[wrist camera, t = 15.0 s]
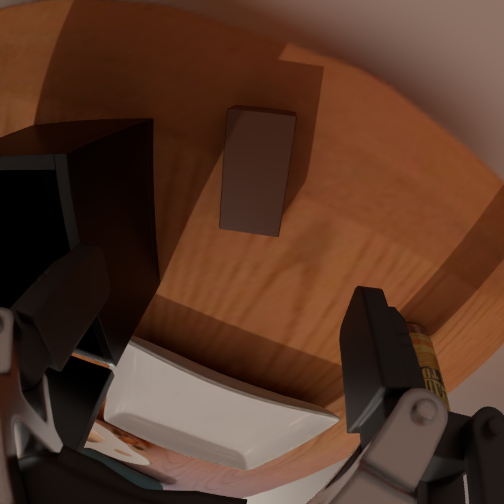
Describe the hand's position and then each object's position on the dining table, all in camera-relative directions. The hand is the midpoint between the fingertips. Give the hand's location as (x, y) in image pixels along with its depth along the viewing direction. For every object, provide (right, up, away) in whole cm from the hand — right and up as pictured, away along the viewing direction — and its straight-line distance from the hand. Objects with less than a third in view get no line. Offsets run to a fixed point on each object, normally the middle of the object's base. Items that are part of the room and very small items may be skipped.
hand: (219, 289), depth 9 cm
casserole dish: (-43, -69, +65) cm, 104 cm away
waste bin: (-13, +5, +14) cm, 20 cm away
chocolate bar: (+1, +7, +11) cm, 13 cm away
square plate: (-6, -21, +30) cm, 37 cm away
